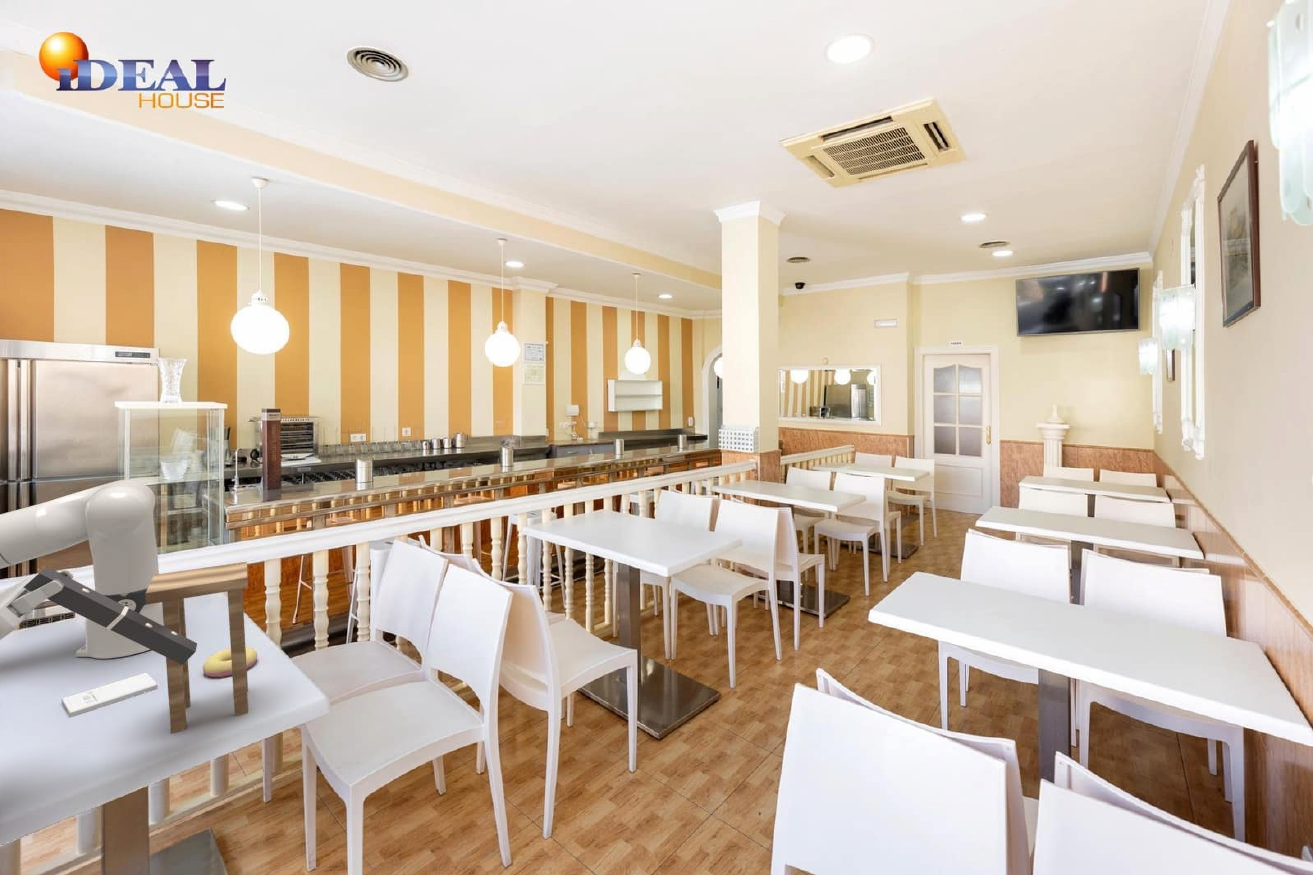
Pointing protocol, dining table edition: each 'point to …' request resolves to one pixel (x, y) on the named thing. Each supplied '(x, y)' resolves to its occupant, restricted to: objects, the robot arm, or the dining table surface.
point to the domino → (116, 617)
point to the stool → (172, 596)
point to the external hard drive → (108, 694)
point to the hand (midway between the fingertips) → (65, 578)
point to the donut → (226, 662)
